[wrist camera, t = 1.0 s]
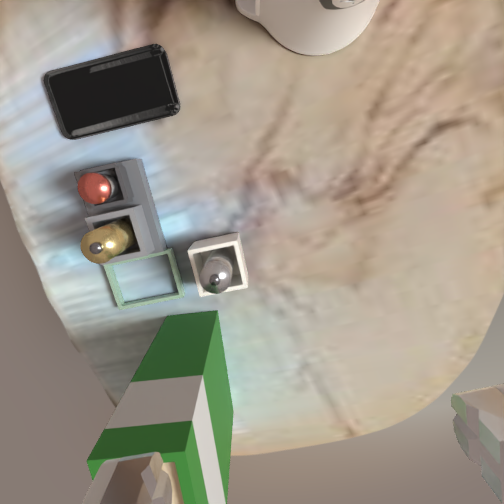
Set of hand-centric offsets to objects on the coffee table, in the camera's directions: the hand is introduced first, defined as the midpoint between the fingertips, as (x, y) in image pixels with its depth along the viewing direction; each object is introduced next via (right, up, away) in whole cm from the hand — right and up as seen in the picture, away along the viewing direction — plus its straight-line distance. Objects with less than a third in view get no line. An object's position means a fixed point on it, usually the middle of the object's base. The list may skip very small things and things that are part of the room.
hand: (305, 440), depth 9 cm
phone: (-18, +25, +31) cm, 44 cm away
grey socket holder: (-18, +11, +34) cm, 40 cm away
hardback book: (-9, -12, +41) cm, 43 cm away
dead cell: (-6, +4, +36) cm, 36 cm away
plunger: (-19, +13, +30) cm, 38 cm away
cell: (-18, +8, +33) cm, 38 cm away
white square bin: (-6, +4, +36) cm, 37 cm away
